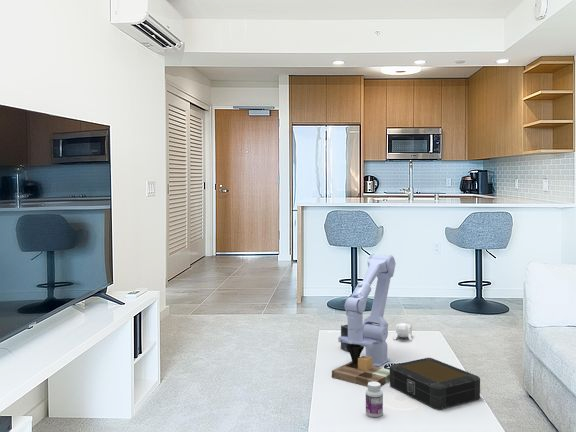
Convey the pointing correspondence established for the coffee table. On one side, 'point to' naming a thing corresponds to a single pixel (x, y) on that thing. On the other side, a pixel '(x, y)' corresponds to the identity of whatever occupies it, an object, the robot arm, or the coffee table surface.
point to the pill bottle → (374, 400)
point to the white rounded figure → (403, 331)
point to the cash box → (435, 383)
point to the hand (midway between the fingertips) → (355, 363)
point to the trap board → (361, 374)
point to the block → (365, 363)
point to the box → (344, 333)
